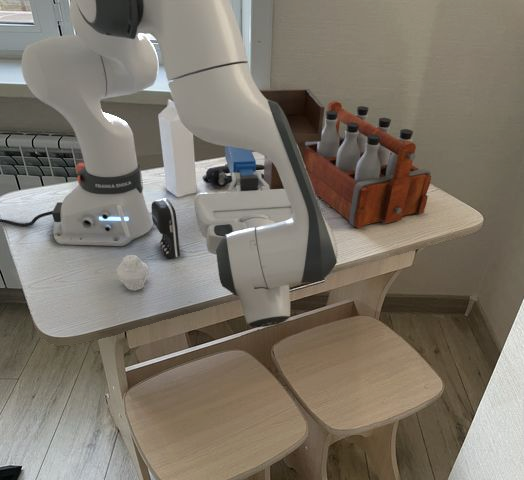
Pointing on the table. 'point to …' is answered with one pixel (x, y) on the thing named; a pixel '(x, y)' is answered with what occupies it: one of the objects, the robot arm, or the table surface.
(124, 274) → the muffin
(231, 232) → the robot arm
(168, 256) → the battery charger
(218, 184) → the can opener
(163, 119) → the milk
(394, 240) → the table surface
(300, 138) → the wooden pedestal stand
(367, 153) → the milk bottle holder
